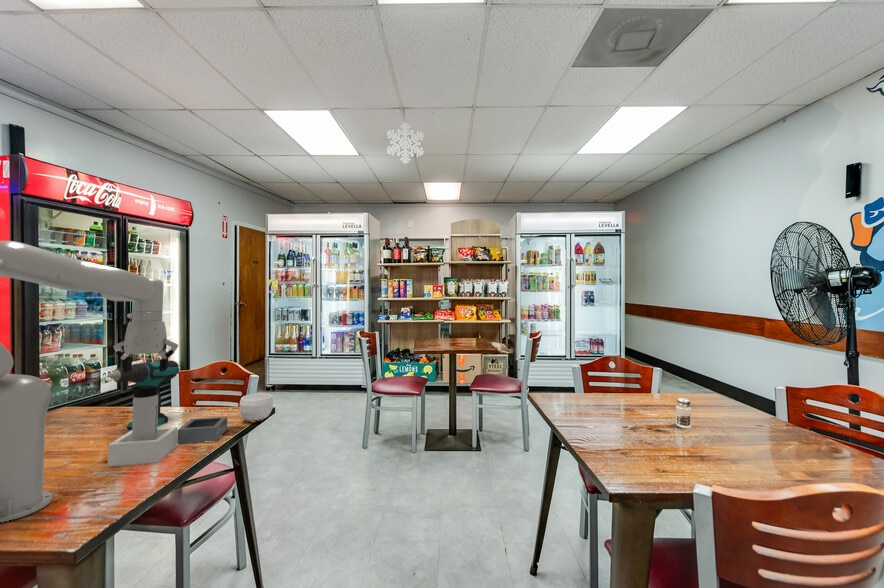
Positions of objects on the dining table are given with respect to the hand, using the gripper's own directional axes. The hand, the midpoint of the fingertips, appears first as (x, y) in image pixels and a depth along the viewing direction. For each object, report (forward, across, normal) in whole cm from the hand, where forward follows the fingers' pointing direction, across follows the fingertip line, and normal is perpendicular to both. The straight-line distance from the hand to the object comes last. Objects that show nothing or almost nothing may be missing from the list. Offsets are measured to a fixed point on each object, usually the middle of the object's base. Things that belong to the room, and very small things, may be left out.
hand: (145, 371), depth 118 cm
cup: (+26, +26, +31) cm, 48 cm away
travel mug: (+24, 0, 0) cm, 25 cm away
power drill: (+27, -14, +31) cm, 43 cm away
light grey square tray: (+27, 0, +1) cm, 27 cm away
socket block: (+26, +12, +15) cm, 33 cm away
